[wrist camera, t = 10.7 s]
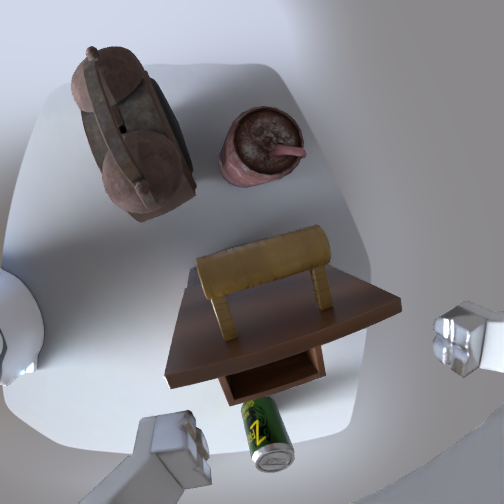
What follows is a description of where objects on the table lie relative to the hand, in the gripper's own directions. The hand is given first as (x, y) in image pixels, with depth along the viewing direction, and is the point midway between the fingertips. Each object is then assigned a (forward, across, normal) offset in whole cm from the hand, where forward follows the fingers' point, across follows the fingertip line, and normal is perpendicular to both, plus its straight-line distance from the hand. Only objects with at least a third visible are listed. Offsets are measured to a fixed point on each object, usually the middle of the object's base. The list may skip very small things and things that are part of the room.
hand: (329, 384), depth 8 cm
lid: (+12, 0, +2) cm, 12 cm away
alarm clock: (+29, +6, -13) cm, 33 cm away
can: (+29, -4, -9) cm, 31 cm away
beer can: (+29, +3, +25) cm, 39 cm away
